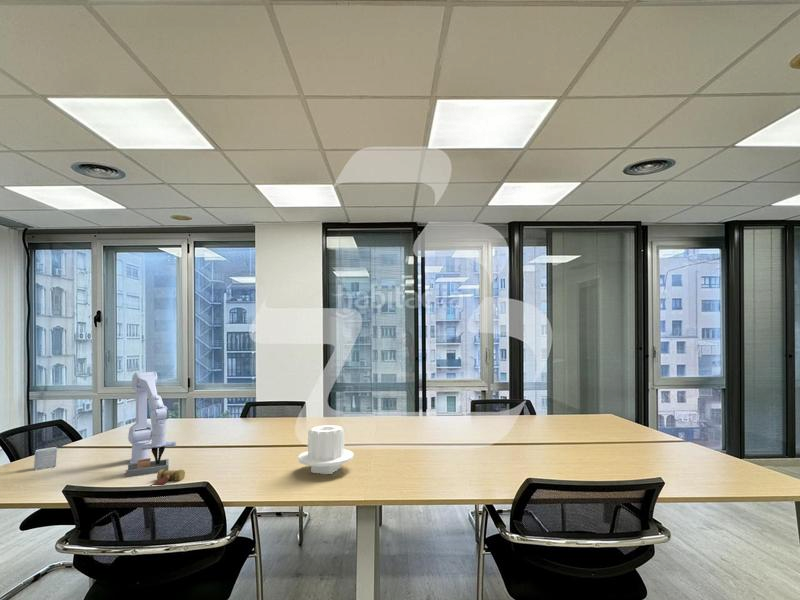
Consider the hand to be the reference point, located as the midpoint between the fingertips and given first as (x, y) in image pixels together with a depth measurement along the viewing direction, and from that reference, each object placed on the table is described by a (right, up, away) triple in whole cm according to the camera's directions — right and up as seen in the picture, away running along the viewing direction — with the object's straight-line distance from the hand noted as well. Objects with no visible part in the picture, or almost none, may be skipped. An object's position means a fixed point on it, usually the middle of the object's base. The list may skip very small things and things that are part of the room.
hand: (157, 463), depth 197 cm
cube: (-5, -2, -3) cm, 6 cm away
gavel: (+14, -1, -23) cm, 27 cm away
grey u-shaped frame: (-3, -2, -2) cm, 4 cm away
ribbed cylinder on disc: (+80, -2, -4) cm, 80 cm away
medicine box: (-56, -3, +3) cm, 56 cm away
